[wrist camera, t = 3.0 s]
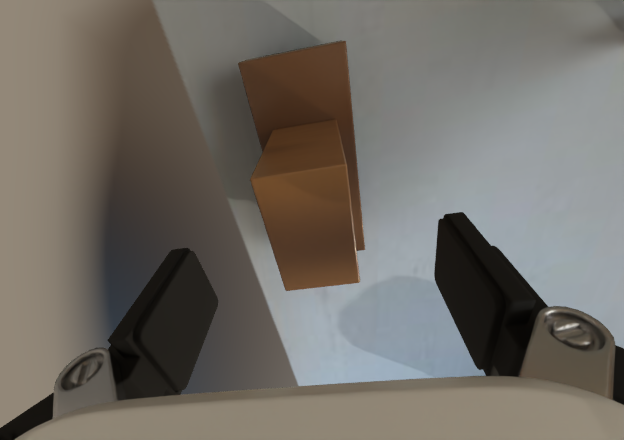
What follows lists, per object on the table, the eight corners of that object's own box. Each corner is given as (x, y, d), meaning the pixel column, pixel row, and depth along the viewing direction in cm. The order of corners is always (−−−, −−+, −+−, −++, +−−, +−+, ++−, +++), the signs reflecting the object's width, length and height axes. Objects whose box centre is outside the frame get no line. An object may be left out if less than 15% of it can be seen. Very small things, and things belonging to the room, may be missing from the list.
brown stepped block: (359, 223, 23) (382, 327, 15) (295, 231, 24) (283, 337, 16) (340, 39, 16) (365, 44, 8) (251, 58, 17) (187, 80, 9)
